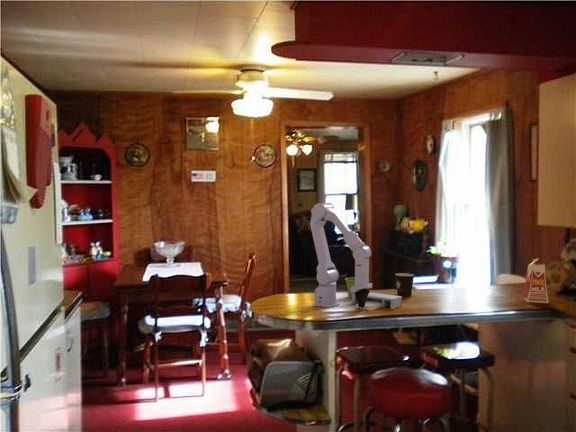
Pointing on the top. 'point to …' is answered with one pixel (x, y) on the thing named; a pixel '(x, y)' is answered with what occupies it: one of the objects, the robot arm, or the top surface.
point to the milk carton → (536, 283)
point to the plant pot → (350, 285)
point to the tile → (371, 305)
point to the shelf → (383, 299)
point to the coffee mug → (404, 284)
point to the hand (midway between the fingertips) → (361, 307)
